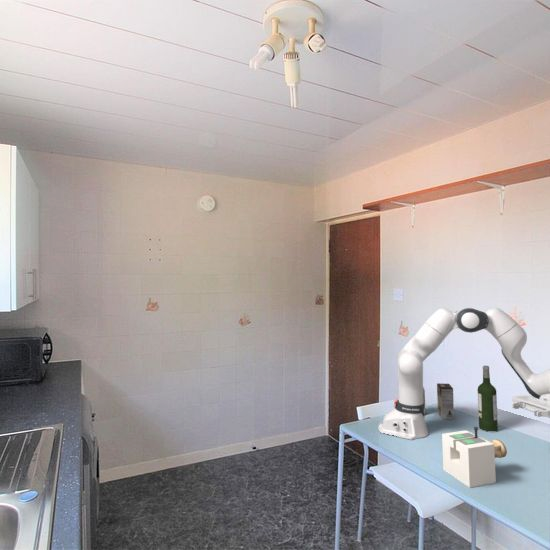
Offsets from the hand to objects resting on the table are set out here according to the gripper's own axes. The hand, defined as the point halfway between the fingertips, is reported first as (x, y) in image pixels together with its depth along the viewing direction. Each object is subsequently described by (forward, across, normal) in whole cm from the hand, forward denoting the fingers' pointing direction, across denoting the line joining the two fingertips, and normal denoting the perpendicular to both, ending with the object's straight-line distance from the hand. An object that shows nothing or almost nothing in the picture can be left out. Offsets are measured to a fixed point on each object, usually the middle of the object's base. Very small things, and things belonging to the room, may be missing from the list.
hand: (524, 410), depth 141 cm
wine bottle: (-14, -33, +21) cm, 42 cm away
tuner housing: (+27, 0, +20) cm, 34 cm away
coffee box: (-7, -54, +21) cm, 58 cm away
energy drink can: (+4, -60, +20) cm, 64 cm away
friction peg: (+19, 0, +15) cm, 24 cm away
